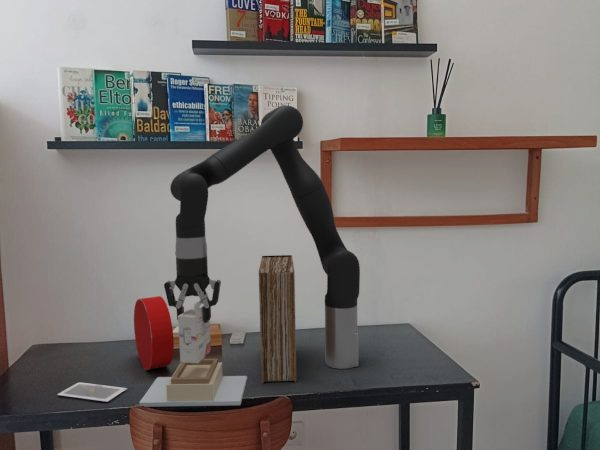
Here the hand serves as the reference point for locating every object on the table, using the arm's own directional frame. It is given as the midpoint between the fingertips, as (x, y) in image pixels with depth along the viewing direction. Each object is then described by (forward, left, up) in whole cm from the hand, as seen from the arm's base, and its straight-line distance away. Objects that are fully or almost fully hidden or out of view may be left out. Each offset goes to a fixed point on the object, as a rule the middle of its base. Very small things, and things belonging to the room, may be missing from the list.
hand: (194, 321), depth 123 cm
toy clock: (+16, -18, -18) cm, 30 cm away
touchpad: (+26, 0, -19) cm, 32 cm away
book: (-20, -17, -18) cm, 32 cm away
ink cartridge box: (0, 0, -9) cm, 9 cm away
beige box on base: (0, 0, -18) cm, 18 cm away
